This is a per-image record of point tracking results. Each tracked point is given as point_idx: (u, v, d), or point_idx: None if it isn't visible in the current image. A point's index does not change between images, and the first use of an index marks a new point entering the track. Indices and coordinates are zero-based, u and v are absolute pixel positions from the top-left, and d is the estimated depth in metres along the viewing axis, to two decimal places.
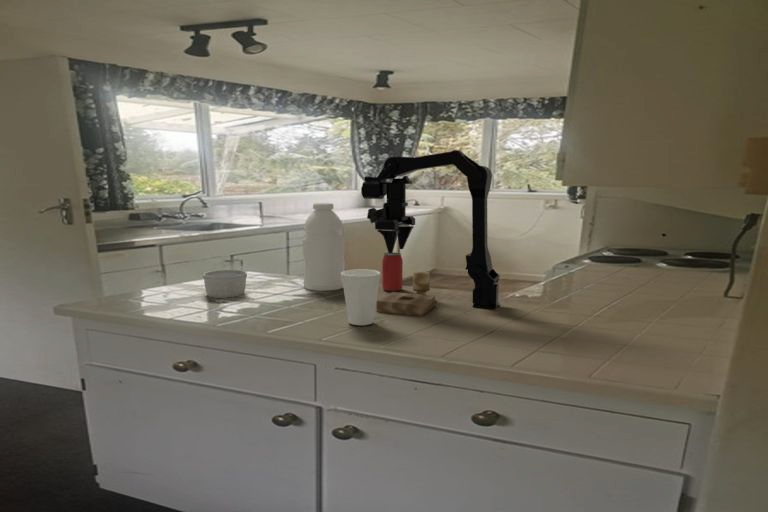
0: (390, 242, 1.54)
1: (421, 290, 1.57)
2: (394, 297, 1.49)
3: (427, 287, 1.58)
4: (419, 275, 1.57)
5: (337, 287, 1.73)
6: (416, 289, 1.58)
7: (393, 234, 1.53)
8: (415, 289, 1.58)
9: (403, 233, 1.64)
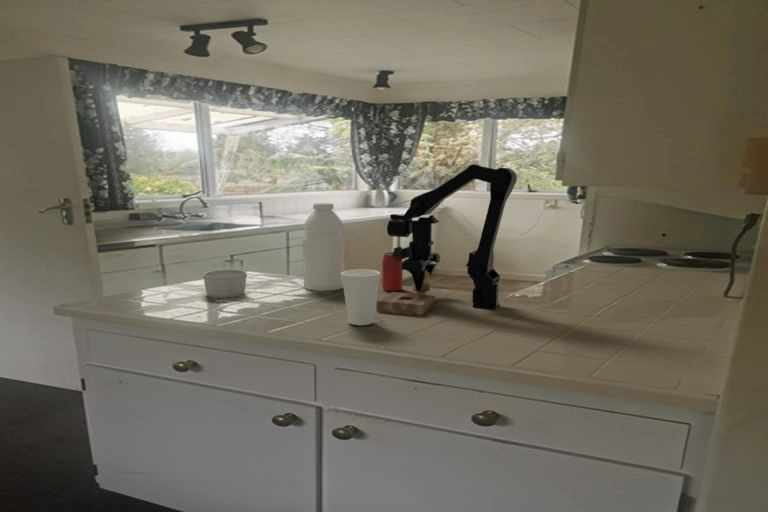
0: (418, 281, 1.56)
1: (421, 290, 1.57)
2: (394, 297, 1.49)
3: (427, 287, 1.58)
4: None
5: (337, 287, 1.73)
6: None
7: (422, 273, 1.54)
8: (415, 289, 1.58)
9: None
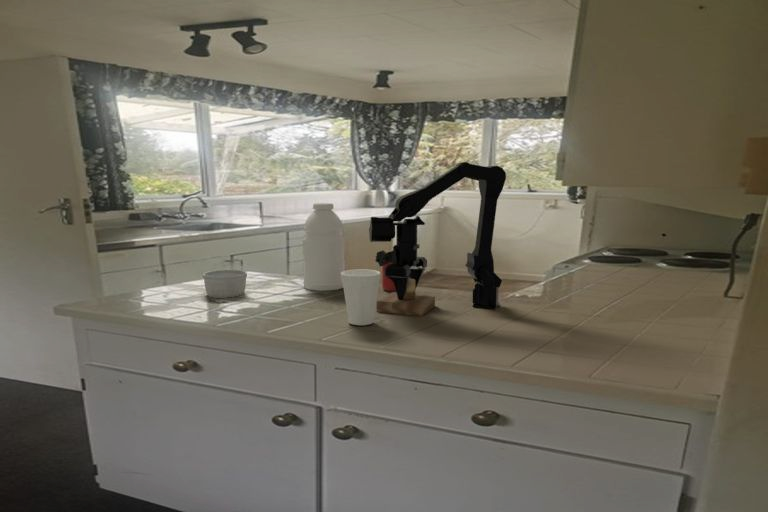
0: (401, 289, 1.42)
1: (406, 298, 1.46)
2: (394, 297, 1.49)
3: (412, 295, 1.46)
4: None
5: (337, 287, 1.73)
6: None
7: (404, 281, 1.41)
8: None
9: (414, 276, 1.52)
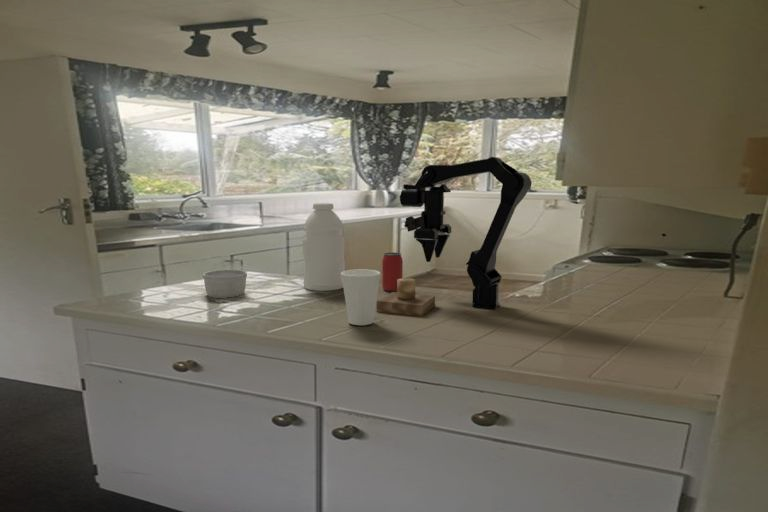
0: (428, 251, 1.53)
1: (406, 298, 1.46)
2: (394, 297, 1.49)
3: (412, 295, 1.46)
4: (404, 282, 1.45)
5: (337, 287, 1.73)
6: (400, 297, 1.46)
7: (432, 243, 1.52)
8: (399, 298, 1.47)
9: (439, 241, 1.63)
